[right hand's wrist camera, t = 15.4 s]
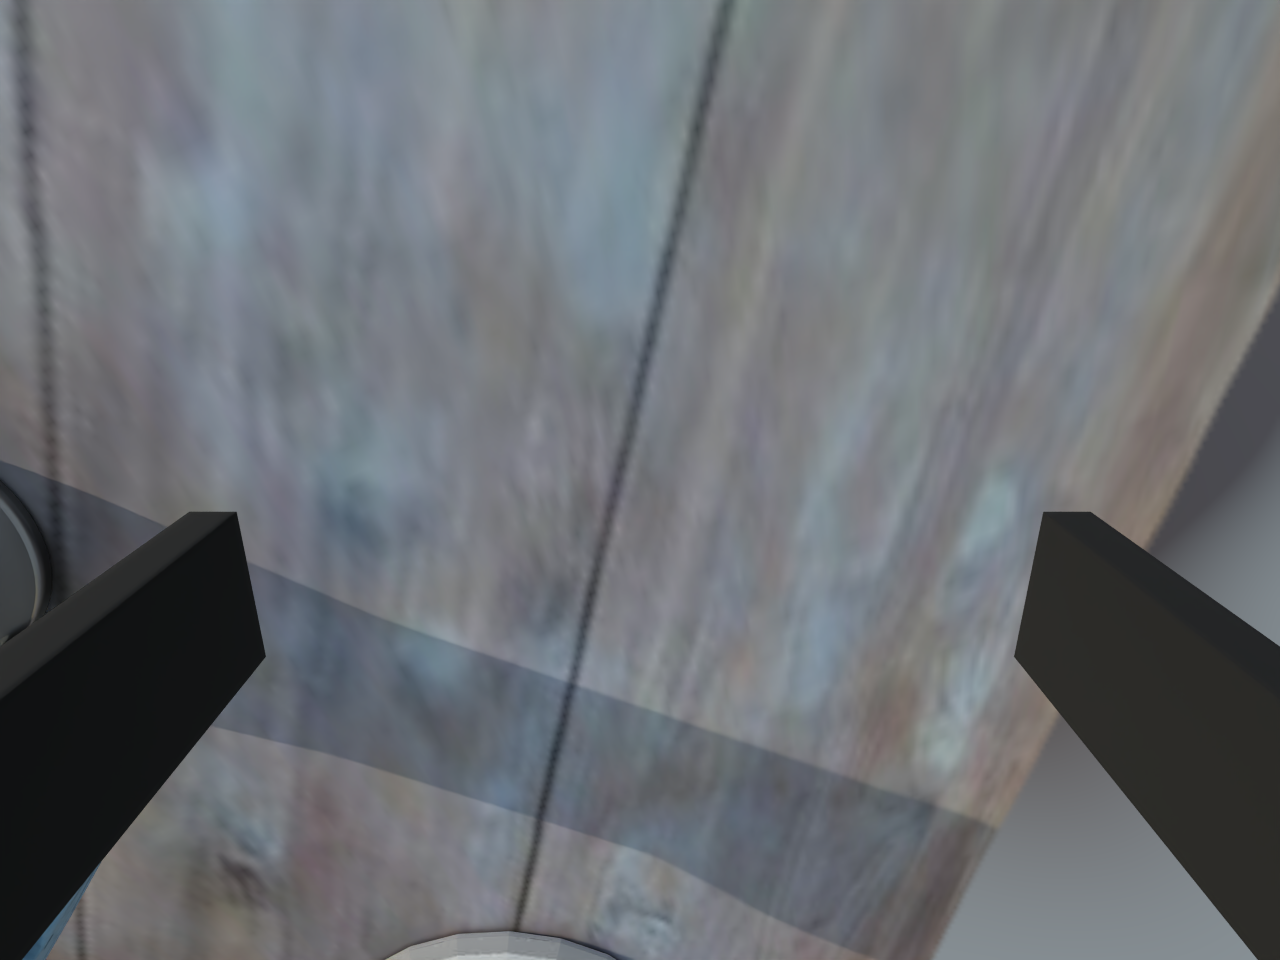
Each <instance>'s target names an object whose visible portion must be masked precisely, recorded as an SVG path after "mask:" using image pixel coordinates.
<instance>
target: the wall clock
mask: <svg viewBox="0 0 1280 960" xmlns="http://www.w3.org/2000/svg"><path fill="white" fill-rule="evenodd" d="M386 960H616V959H614V958H613V957H611V956H610V955H608V954H605V953H602V952H599V951H596V950H593V949H590V948H588V947H585V946H582V945H579V944H576V943H573V942H570V941H567V940H564V939H561V938H555V937H547V936H540V935H533V934H526V933H518V932H511V931H505V932H486V933H468V934H456V935H452V936H448V937H445V938H441V939H437V940H433V941H429V942H425V943H421V944H418V945H414V946H410V947H408V948H406V949H405V950H403V951H401V952H399V953H397V954H395V955H393V956H391V957H389V958H387V959H386Z"/></svg>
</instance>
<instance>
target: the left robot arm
mask: <svg viewBox="0 0 1280 960" xmlns="http://www.w3.org/2000/svg"><path fill="white" fill-rule="evenodd" d="M51 588H52V573H51V565H50V559H49V555H48V552H47V548H46V545H45V543H44V540H43V538H42V535H41V533H40V531H39V529H38V527H37V525H36V524H35V522H34V520H33V519H32V517H31V516H30V514H29V512H28V511H27V510H26V508H25V507H24V506H23V504H22V503H21V502H20V501H19V499H18V498H17V497H16V496H15V495H14V494H13V493H12V491H11V490H10V489H8V488H7V487H6V486H5V485H4V484H3V483H2V482H1V481H0V646H2V645H3V644H5V643H6V642H7V641H9V640H10V639H12V638H13V637H14V636H16V635H17V634H19V633H20V632H21V631H23V630H24V629H26V628H27V627H28V626H30V625H31V624H33V623H34V622H35V621H37V620H38V619H40V618H41V617H42V616H44V614H45V611H46V609H47V606H48V603H49V600H50V595H51ZM100 863H101V862H100ZM99 865H100V864H99ZM99 865H98V866H97V867H96V869H95V870H94V871H93V872H92V873H91V875H90V876H89V877H88V878H87V880H86V881H85V882H84V883H83V885H82V886H81V887H80V888H79V890H78V891H77V892H76V893H75V895H74V896H73V897H72V898H71V900H70V901H69V902H68V903H67V905H66V906H65V907H64V908H63V910H62V911H61V912H60V913H59V915H58V916H57V917H56V918H55V920H54V921H53V922H52V923H51V924H50V926H49V927H48V928H47V929H46V931H45V932H44V933H43V934H42V936H41V937H40V938H39V939H38V941H37V942H36V943H35V944H34V946H33V947H32V948H31V949H30V951H29V952H28V953H27V954H26V956H25V957H24V958H23V959H22V960H46V958H47V956H48V954H49V953H50V951H51V949H52V948H53V946H54V944H55V943H56V941H57V939H58V937H59V936H60V934H61V932H62V930H63V929H64V927H65V925H66V923H67V922H68V920H69V918H70V917H71V915H72V913H73V911H74V910H75V908H76V906H77V904H78V903H79V901H80V899H81V897H82V895H83V894H84V892H85V890H86V888H87V887H88V885H89V883H90V881H91V879H92V878H93V876H94V874H95V872H96V870H97V869H98V867H99Z"/></svg>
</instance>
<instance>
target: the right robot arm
mask: <svg viewBox="0 0 1280 960" xmlns="http://www.w3.org/2000/svg"><path fill="white" fill-rule="evenodd" d="M265 657H266V655H265V650H264V645H263V640H262V635H261V630H260V625H259V620H258V615H257V610H256V606H255V601H254V596H253V591H252V586H251V581H250V576H249V571H248V566H247V561H246V556H245V551H244V546H243V541H242V536H241V531H240V526H239V521H238V517H237V512H189V513H187V514H186V515H184V516H183V517H182V518H180V519H179V520H177V521H176V522H175V523H173V524H172V525H170V526H169V527H168V528H166V529H165V530H163V531H162V532H160V533H159V534H158V535H156V536H155V537H153V538H152V539H151V540H149V541H148V542H146V543H145V544H144V545H142V546H141V547H139V548H138V549H137V550H135V551H134V552H132V553H131V554H130V555H128V556H127V557H125V558H124V559H123V560H121V561H120V562H118V563H117V564H116V565H114V566H113V567H111V568H110V569H109V570H107V571H106V572H104V573H103V574H101V575H100V576H99V577H97V578H96V579H94V580H93V581H92V582H90V583H89V584H87V585H86V586H85V587H83V588H82V589H80V590H79V591H78V592H76V593H75V594H73V595H72V596H71V597H69V598H68V599H66V600H65V601H64V602H62V603H61V604H59V605H58V606H57V607H55V608H54V609H52V610H51V611H50V612H48V613H47V614H45V615H44V616H42V617H41V618H40V619H38V620H37V621H35V622H34V623H33V624H31V625H30V626H28V627H27V628H26V629H24V630H23V631H21V632H20V633H19V634H17V635H16V636H14V637H13V638H12V639H10V640H9V641H7V642H6V643H5V644H3V645H2V646H0V960H22V959H23V958H24V957H25V956H26V954H27V953H28V952H29V951H30V949H31V948H32V947H33V946H34V944H35V943H36V942H37V941H38V939H39V938H40V937H41V936H42V934H43V933H44V932H45V931H46V929H47V928H48V927H49V926H50V924H51V923H52V922H53V921H54V920H55V918H56V917H57V916H58V915H59V913H60V912H61V911H62V910H63V908H64V907H65V906H66V905H67V903H68V902H69V901H70V900H71V898H72V897H73V896H74V895H75V893H76V892H77V891H78V890H79V888H80V887H81V886H82V885H83V883H84V882H85V881H86V880H87V878H88V877H89V876H90V875H91V873H92V872H93V871H94V870H95V869H96V867H97V866H98V865H99V864H100V862H101V861H102V860H103V859H104V857H105V856H106V855H107V854H108V852H109V851H110V850H111V849H112V847H113V846H114V845H115V844H116V842H117V841H118V840H119V839H120V837H121V836H122V835H123V834H124V832H125V831H126V830H127V829H128V827H129V826H130V825H131V824H132V822H133V821H134V820H135V819H136V818H137V816H138V815H139V814H140V813H141V811H142V810H143V809H144V808H145V806H146V805H147V804H148V803H149V801H150V800H151V799H152V798H153V796H154V795H155V794H156V793H157V791H158V790H159V789H160V788H161V786H162V785H163V784H164V783H165V781H166V780H167V779H168V778H169V776H170V775H171V774H172V773H173V771H174V770H175V769H176V768H177V766H178V765H179V764H180V763H181V762H182V760H183V759H184V758H185V757H186V755H187V754H188V753H189V752H190V750H191V749H192V748H193V747H194V745H195V744H196V743H197V742H198V740H199V739H200V738H201V737H202V735H203V734H204V733H205V732H206V730H207V729H208V728H209V727H210V725H211V724H212V723H213V722H214V720H215V719H216V718H217V717H218V715H219V714H220V713H221V712H222V711H223V709H224V708H225V707H226V706H227V704H228V703H229V702H230V701H231V699H232V698H233V697H234V696H235V694H236V693H237V692H238V691H239V689H240V688H241V687H242V686H243V684H244V683H245V682H246V681H247V679H248V678H249V677H250V676H251V674H252V673H253V672H254V671H255V669H256V668H257V667H258V666H259V664H260V663H261V662H262V661H263V660H264V658H265ZM1014 657H1015V658H1016V660H1017V661H1018V662H1019V663H1020V664H1021V666H1022V667H1023V668H1024V669H1025V671H1026V672H1027V673H1028V674H1029V676H1030V677H1031V678H1032V679H1033V681H1034V682H1035V683H1036V684H1037V686H1038V687H1039V688H1040V689H1041V691H1042V692H1043V693H1044V694H1045V696H1046V697H1047V698H1048V699H1049V701H1050V702H1051V703H1052V704H1053V706H1054V707H1055V708H1056V709H1057V711H1058V712H1059V713H1060V714H1061V715H1062V717H1063V718H1064V719H1065V720H1066V722H1067V723H1068V724H1069V725H1070V727H1071V728H1072V729H1073V730H1074V732H1075V733H1076V734H1077V735H1078V737H1079V738H1080V739H1081V740H1082V741H1083V743H1084V744H1085V745H1086V747H1087V748H1088V749H1089V750H1090V752H1091V753H1092V754H1093V755H1094V757H1095V758H1096V759H1097V760H1098V761H1099V763H1100V764H1101V765H1102V767H1103V768H1104V769H1105V770H1106V771H1107V773H1108V774H1109V775H1110V776H1111V778H1112V779H1113V780H1114V781H1115V783H1116V784H1117V785H1118V786H1119V788H1120V789H1121V790H1122V791H1123V793H1124V794H1125V795H1126V796H1127V798H1128V799H1129V800H1130V801H1131V803H1132V804H1133V805H1134V806H1135V808H1136V809H1137V810H1138V811H1139V812H1140V814H1141V815H1142V816H1143V818H1144V819H1145V820H1146V821H1147V822H1148V824H1149V825H1150V826H1151V827H1152V829H1153V830H1154V831H1155V832H1156V834H1157V835H1158V836H1159V837H1160V839H1161V840H1162V841H1163V842H1164V844H1165V845H1166V846H1167V847H1168V848H1169V850H1170V851H1171V852H1172V854H1173V855H1174V856H1175V857H1176V859H1177V860H1178V861H1179V862H1180V864H1181V865H1182V866H1183V867H1184V868H1185V870H1186V871H1187V872H1188V873H1189V875H1190V876H1191V877H1192V878H1193V880H1194V881H1195V882H1196V883H1197V885H1198V886H1199V887H1200V888H1201V890H1202V891H1203V892H1204V893H1205V895H1206V896H1207V897H1208V898H1209V900H1210V901H1211V902H1212V903H1213V905H1214V906H1215V907H1216V908H1217V910H1218V911H1219V912H1220V913H1221V914H1222V916H1223V917H1224V918H1225V919H1226V921H1227V922H1228V923H1229V924H1230V926H1231V927H1232V928H1233V929H1234V931H1235V932H1236V933H1237V934H1238V936H1239V937H1240V938H1241V939H1242V941H1243V942H1244V943H1245V944H1246V946H1247V947H1248V948H1249V949H1250V951H1251V952H1252V953H1253V954H1254V956H1255V957H1256V958H1257V959H1258V960H1280V646H1278V645H1277V644H1275V643H1274V642H1273V641H1271V640H1270V639H1268V638H1267V637H1266V636H1264V635H1263V634H1261V633H1260V632H1259V631H1257V630H1256V629H1254V628H1253V627H1251V626H1250V625H1249V624H1247V623H1246V622H1245V621H1243V620H1242V619H1240V618H1239V617H1238V616H1236V615H1235V614H1233V613H1232V612H1230V611H1229V610H1228V609H1226V608H1225V607H1223V606H1222V605H1221V604H1219V603H1218V602H1216V601H1215V600H1214V599H1212V598H1211V597H1209V596H1208V595H1207V594H1205V593H1204V592H1202V591H1201V590H1200V589H1198V588H1197V587H1195V586H1194V585H1192V584H1191V583H1190V582H1188V581H1187V580H1185V579H1184V578H1183V577H1181V576H1180V575H1178V574H1177V573H1176V572H1174V571H1173V570H1171V569H1170V568H1169V567H1167V566H1166V565H1164V564H1163V563H1162V562H1160V561H1159V560H1157V559H1156V558H1155V557H1153V556H1152V555H1150V554H1149V553H1148V552H1146V551H1145V550H1143V549H1142V548H1141V547H1139V546H1138V545H1136V544H1135V543H1134V542H1132V541H1131V540H1129V539H1128V538H1127V537H1125V536H1124V535H1122V534H1121V533H1120V532H1118V531H1117V530H1115V529H1114V528H1112V527H1111V526H1110V525H1108V524H1107V523H1105V522H1104V521H1103V520H1101V519H1100V518H1098V517H1097V516H1096V515H1094V514H1093V513H1091V512H1043V517H1042V521H1041V526H1040V531H1039V536H1038V541H1037V546H1036V551H1035V556H1034V561H1033V566H1032V571H1031V576H1030V581H1029V586H1028V591H1027V596H1026V601H1025V606H1024V610H1023V615H1022V620H1021V625H1020V630H1019V635H1018V640H1017V645H1016V650H1015V655H1014Z"/></svg>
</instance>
